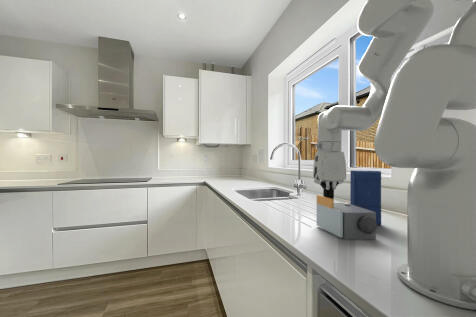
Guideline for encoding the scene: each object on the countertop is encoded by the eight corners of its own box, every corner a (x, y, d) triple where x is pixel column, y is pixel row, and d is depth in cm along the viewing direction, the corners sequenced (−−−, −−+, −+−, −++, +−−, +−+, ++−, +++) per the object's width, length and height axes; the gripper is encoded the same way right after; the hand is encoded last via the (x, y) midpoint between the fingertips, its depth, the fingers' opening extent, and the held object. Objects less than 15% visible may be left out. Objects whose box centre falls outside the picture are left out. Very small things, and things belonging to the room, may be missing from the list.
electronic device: (374, 221, 79) (374, 170, 79) (382, 225, 74) (382, 171, 74) (349, 220, 80) (349, 170, 80) (355, 224, 75) (355, 170, 75)
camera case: (380, 240, 60) (380, 211, 60) (348, 241, 59) (348, 212, 59) (346, 224, 75) (347, 201, 75) (321, 224, 74) (321, 201, 74)
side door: (342, 237, 61) (342, 201, 61) (340, 237, 60) (340, 201, 61) (318, 224, 72) (318, 194, 73) (316, 225, 72) (316, 194, 72)
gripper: (316, 146, 65) (315, 203, 65) (356, 147, 68) (355, 202, 68) (303, 147, 72) (303, 199, 72) (340, 148, 75) (340, 197, 75)
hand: (328, 200), depth 70 cm, fingers closed
